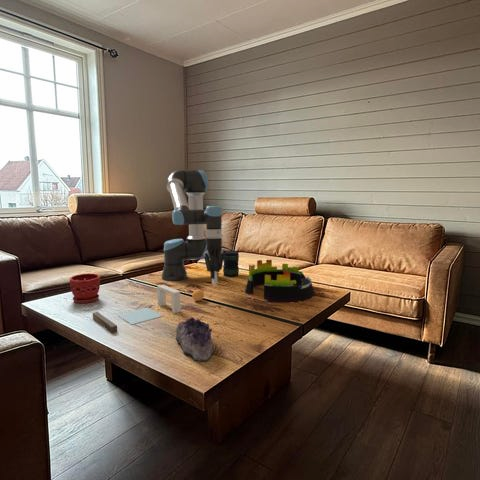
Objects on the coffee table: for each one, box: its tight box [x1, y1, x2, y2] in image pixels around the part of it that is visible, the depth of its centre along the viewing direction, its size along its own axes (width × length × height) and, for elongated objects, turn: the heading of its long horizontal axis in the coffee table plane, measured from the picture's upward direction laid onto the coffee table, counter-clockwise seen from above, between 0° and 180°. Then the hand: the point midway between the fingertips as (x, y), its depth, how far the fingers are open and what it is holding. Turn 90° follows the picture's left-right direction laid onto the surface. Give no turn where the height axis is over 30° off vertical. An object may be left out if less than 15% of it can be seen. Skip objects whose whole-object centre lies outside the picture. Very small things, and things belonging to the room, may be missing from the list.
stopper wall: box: [92, 311, 118, 334], centre depth 135 cm, size 2×20×2 cm, turn 42°
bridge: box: [157, 284, 182, 314], centre depth 154 cm, size 3×14×9 cm, turn 42°
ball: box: [191, 289, 205, 302], centre depth 165 cm, size 6×6×6 cm
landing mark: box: [117, 307, 163, 326], centre depth 145 cm, size 14×14×1 cm
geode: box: [175, 317, 214, 363], centre depth 115 cm, size 20×12×10 cm, turn 25°
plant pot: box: [69, 273, 101, 304], centre depth 164 cm, size 13×13×12 cm
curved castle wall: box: [244, 259, 316, 304], centre depth 179 cm, size 37×37×15 cm
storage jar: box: [222, 250, 240, 278], centre depth 214 cm, size 10×10×15 cm
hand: (214, 284), depth 170 cm, fingers closed
